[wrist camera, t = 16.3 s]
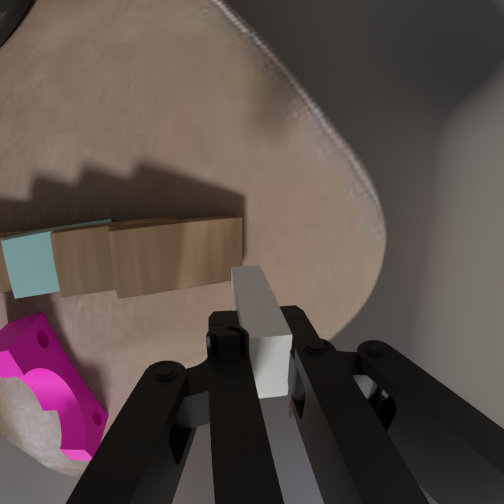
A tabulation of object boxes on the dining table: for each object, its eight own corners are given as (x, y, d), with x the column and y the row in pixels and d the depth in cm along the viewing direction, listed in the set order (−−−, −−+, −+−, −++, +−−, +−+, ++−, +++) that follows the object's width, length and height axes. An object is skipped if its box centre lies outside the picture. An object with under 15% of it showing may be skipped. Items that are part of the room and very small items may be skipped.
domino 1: (77, 277, 24) (-6, 287, 21) (67, 224, 23) (-17, 239, 20) (73, 283, 23) (-12, 294, 20) (62, 227, 21) (-24, 243, 18)
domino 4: (234, 272, 26) (117, 290, 22) (233, 214, 24) (108, 227, 20) (242, 278, 24) (118, 299, 20) (242, 217, 23) (108, 231, 19)
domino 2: (111, 221, 22) (1, 240, 17) (120, 281, 23) (14, 298, 19) (111, 218, 23) (6, 236, 19) (119, 274, 24) (19, 291, 20)
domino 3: (176, 273, 25) (63, 289, 21) (172, 215, 24) (53, 229, 19) (180, 280, 24) (61, 297, 20) (177, 218, 22) (49, 233, 18)
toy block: (9, 321, 24) (-25, 357, 17) (43, 311, 25) (8, 350, 18) (72, 417, 29) (56, 459, 22) (108, 414, 29) (95, 460, 22)
